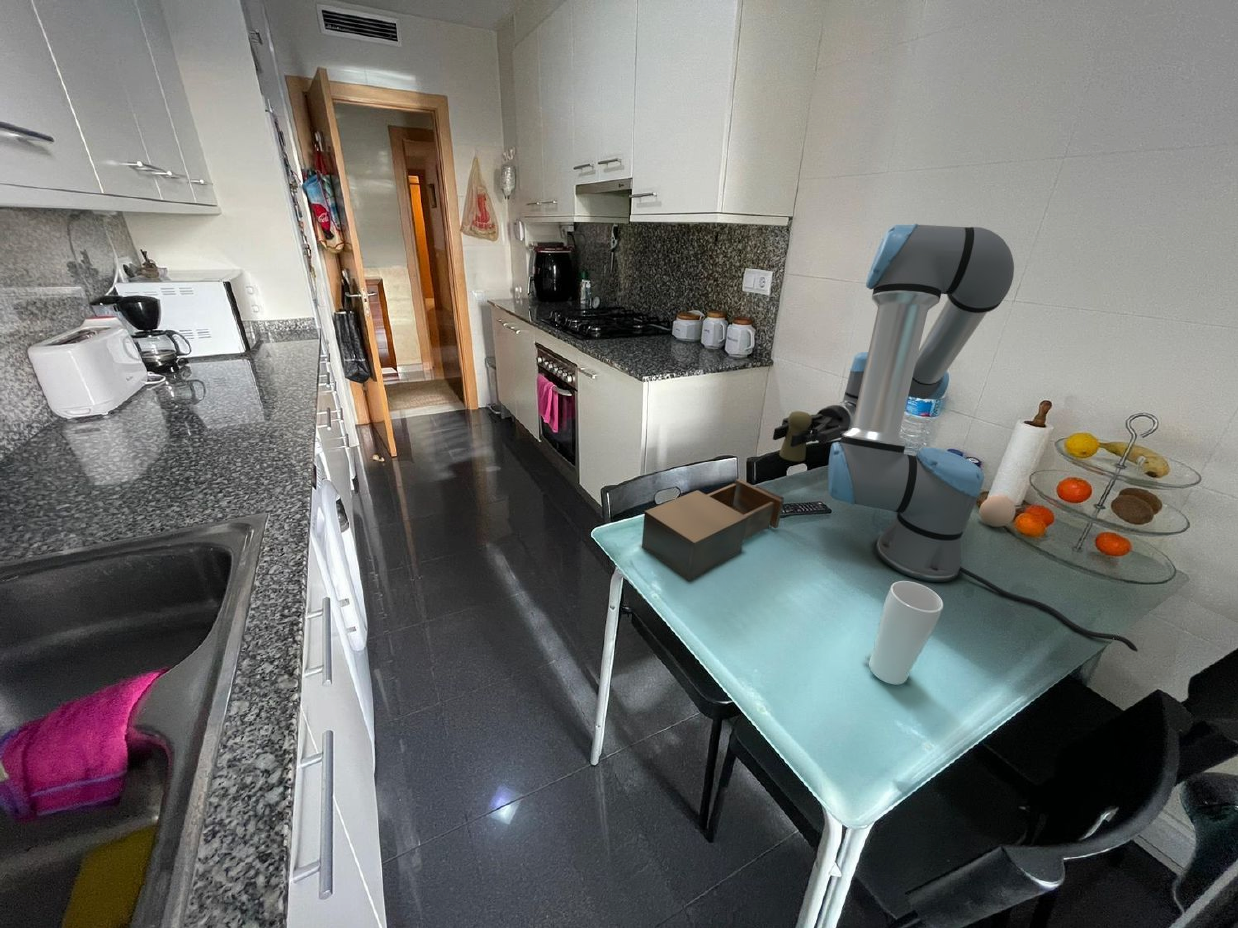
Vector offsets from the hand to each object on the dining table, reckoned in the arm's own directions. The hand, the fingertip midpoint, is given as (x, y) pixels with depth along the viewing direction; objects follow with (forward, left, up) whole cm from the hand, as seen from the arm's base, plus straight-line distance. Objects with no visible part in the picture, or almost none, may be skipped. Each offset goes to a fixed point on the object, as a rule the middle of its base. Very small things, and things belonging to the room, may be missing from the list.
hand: (783, 437), depth 115 cm
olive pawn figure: (0, -5, -6) cm, 8 cm away
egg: (-37, -36, -18) cm, 54 cm away
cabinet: (-2, +30, -18) cm, 35 cm away
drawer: (-2, +14, -17) cm, 22 cm away
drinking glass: (-42, +29, -18) cm, 54 cm away
